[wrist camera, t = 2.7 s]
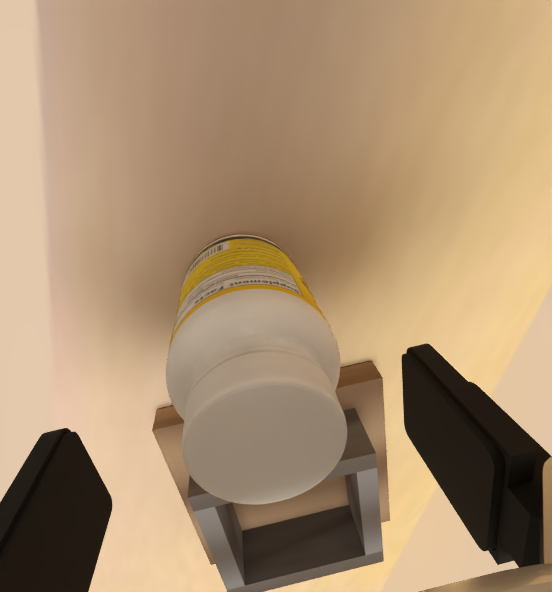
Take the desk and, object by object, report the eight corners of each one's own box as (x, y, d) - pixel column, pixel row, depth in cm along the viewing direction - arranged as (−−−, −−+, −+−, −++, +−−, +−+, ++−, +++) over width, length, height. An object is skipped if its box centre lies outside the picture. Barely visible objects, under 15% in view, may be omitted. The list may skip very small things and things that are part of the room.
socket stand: (157, 409, 20) (140, 482, 16) (371, 360, 20) (408, 419, 16) (211, 540, 25) (209, 621, 21) (381, 499, 26) (411, 569, 22)
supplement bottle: (289, 338, 19) (347, 523, 10) (181, 331, 18) (143, 529, 9) (308, 237, 17) (403, 361, 8) (187, 223, 16) (145, 346, 7)
